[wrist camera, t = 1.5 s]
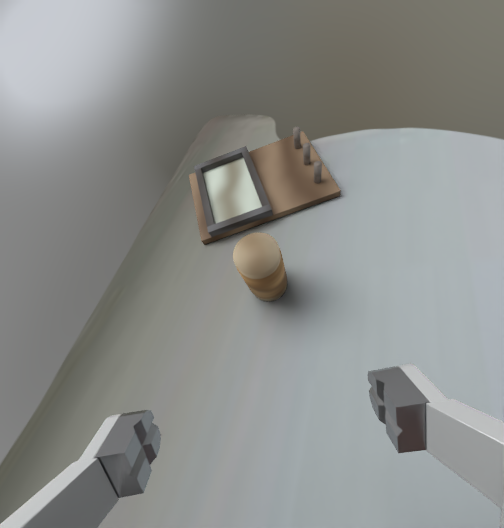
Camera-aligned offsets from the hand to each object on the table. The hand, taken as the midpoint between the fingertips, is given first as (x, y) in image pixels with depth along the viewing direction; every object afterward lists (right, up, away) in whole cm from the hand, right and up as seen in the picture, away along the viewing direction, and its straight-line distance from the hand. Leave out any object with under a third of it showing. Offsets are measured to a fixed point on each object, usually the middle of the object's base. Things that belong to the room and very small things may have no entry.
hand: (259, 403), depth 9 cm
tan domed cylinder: (+2, +3, +21) cm, 21 cm away
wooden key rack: (+1, +17, +28) cm, 33 cm away
